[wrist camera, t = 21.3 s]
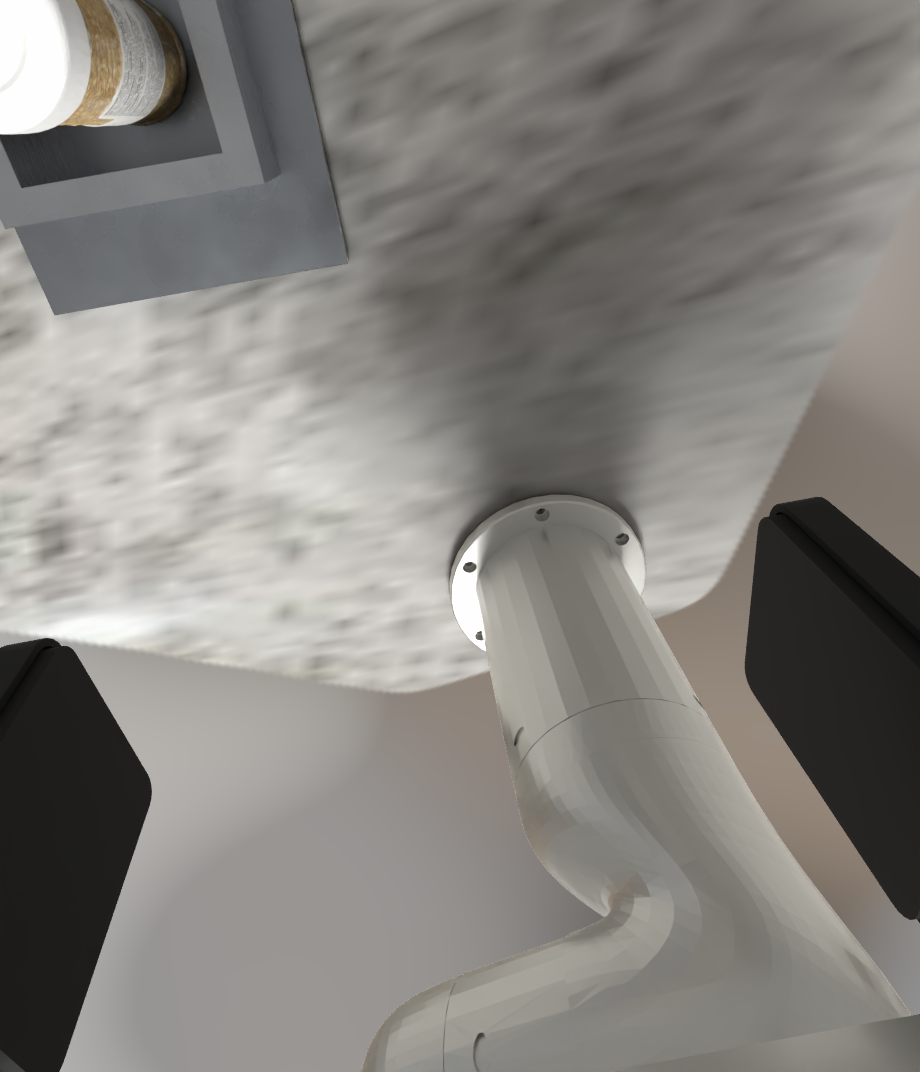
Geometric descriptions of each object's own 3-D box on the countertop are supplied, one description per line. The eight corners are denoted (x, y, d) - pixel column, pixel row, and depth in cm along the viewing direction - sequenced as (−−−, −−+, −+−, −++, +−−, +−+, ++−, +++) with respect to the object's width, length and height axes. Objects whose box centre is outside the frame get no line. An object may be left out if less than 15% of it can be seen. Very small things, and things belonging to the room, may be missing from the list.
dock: (348, 259, 33) (341, 293, 26) (63, 310, 33) (-17, 357, 26) (227, -288, 23) (168, -450, 17) (-175, -220, 23) (-395, -358, 17)
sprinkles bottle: (55, 81, 27) (-171, 58, 16) (90, -41, 26) (-136, -165, 14) (168, 150, 29) (35, 174, 18) (209, 39, 27) (89, -14, 16)
